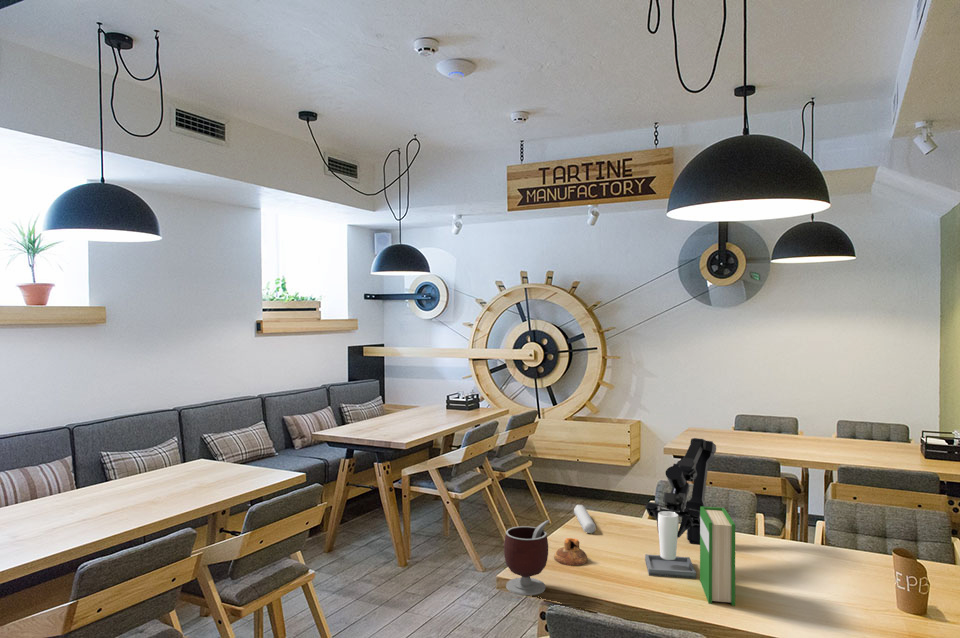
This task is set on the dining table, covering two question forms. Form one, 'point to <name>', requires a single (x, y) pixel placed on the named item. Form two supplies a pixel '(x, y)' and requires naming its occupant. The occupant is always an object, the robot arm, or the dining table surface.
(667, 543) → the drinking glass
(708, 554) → the hardback book
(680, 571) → the serving tray
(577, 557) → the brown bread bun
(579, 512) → the tube
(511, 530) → the mate gourd
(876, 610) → the dining table surface
